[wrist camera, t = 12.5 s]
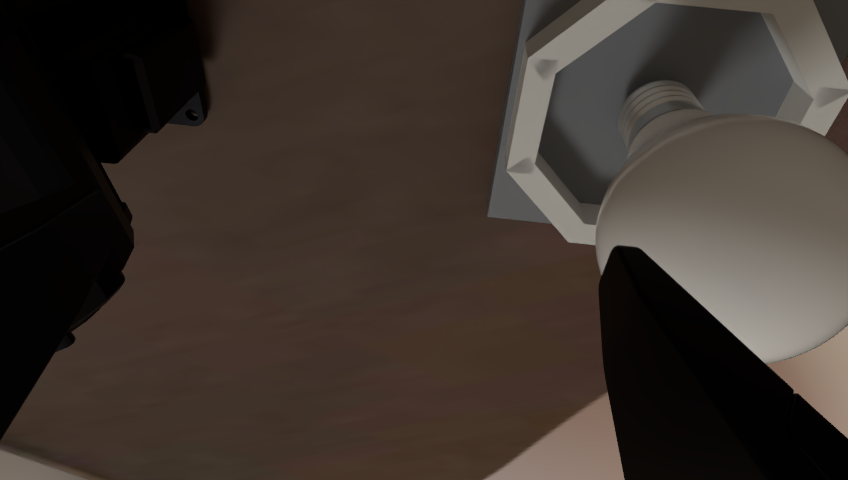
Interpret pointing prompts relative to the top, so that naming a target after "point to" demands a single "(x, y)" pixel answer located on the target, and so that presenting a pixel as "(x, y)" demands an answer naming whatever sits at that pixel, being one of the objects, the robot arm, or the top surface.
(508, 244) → the top surface
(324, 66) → the top surface
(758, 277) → the lightbulb
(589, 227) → the bulb stand
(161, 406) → the top surface
